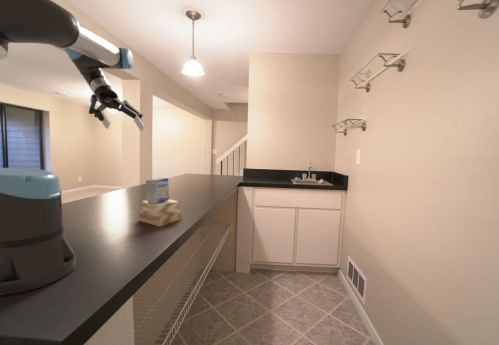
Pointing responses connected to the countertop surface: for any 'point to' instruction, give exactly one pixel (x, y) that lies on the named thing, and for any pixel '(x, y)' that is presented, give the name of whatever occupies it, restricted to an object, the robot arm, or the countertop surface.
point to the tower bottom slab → (159, 218)
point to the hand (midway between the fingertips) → (126, 127)
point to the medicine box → (157, 190)
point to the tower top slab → (160, 207)
